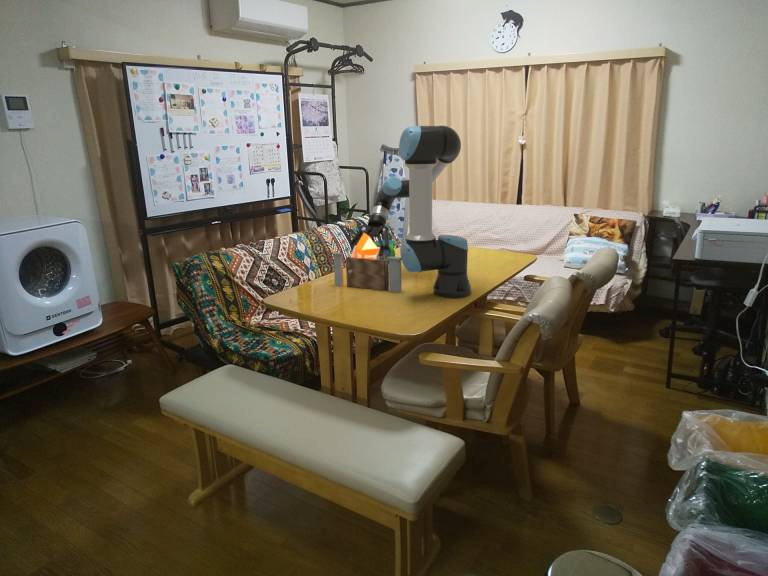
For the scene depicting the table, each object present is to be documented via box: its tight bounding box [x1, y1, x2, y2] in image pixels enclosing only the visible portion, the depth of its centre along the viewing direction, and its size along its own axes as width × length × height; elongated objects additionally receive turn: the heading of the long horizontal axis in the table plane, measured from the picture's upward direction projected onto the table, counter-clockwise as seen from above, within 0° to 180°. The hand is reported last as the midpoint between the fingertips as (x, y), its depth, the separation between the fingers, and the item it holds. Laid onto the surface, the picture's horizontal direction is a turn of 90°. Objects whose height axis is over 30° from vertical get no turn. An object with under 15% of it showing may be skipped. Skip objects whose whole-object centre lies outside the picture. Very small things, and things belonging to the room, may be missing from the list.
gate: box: [345, 256, 390, 291], centre depth 220 cm, size 19×2×12 cm, turn 66°
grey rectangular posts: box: [332, 251, 402, 293], centre depth 220 cm, size 30×3×14 cm, turn 66°
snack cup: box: [373, 239, 397, 264], centre depth 266 cm, size 16×10×10 cm
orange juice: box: [356, 233, 379, 259], centre depth 227 cm, size 8×9×20 cm
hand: (363, 260), depth 225 cm, fingers closed on orange juice, 11 cm apart
